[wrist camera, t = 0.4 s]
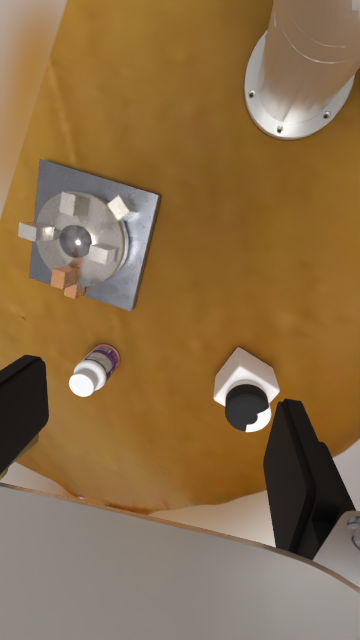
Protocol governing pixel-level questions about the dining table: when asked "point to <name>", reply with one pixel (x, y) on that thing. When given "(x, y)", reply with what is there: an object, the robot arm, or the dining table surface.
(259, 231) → the dining table surface
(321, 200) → the dining table surface
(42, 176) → the base plate
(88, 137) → the dining table surface
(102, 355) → the pill bottle
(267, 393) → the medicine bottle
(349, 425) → the dining table surface
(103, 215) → the round disc with cubes
